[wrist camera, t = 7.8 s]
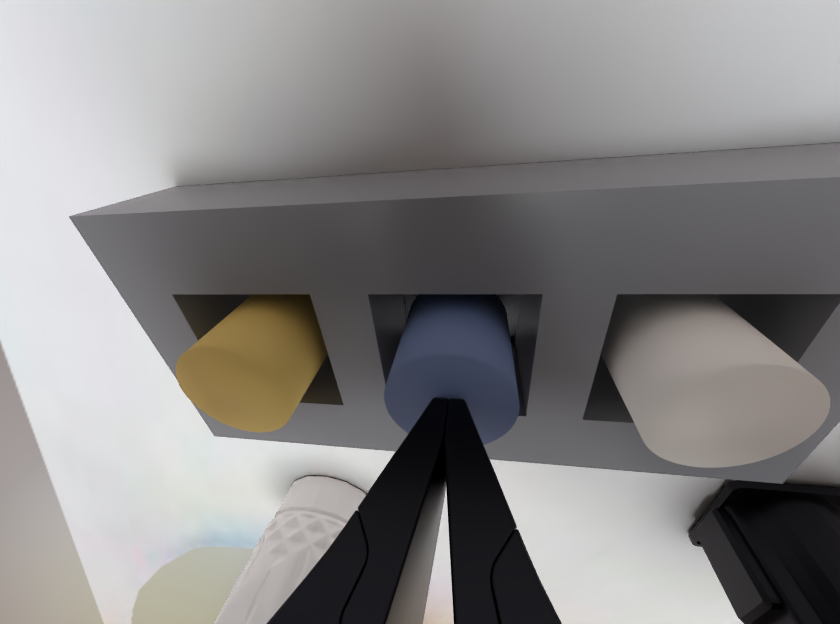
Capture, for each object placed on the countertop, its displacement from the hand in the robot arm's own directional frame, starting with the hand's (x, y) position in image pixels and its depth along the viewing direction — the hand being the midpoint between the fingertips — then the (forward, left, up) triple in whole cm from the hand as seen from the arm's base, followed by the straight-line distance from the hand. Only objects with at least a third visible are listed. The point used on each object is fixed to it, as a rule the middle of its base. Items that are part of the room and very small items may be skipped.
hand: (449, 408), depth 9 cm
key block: (0, 0, -6) cm, 6 cm away
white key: (-6, 0, -4) cm, 8 cm away
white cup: (+10, +18, -6) cm, 21 cm away
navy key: (0, 0, -4) cm, 4 cm away
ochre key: (+7, 0, -4) cm, 8 cm away
